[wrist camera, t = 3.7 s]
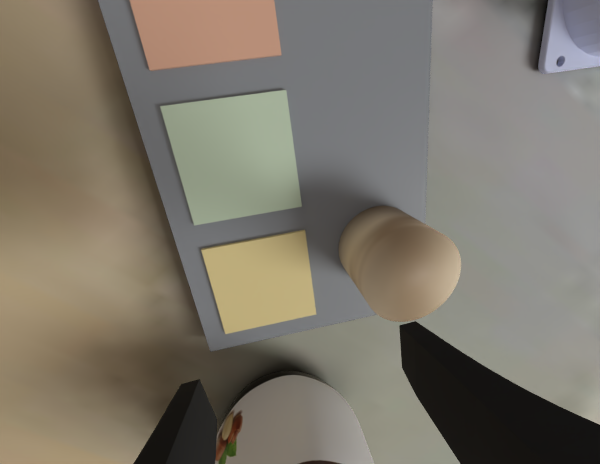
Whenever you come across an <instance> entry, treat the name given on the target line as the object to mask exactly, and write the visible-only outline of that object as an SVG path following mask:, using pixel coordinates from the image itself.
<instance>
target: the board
mask: <svg viewBox="0 0 600 464" xmlns="http://www.w3.org/2000/svg"><path fill="white" fill-rule="evenodd" d="M98 2H99V5H100V8H101V12H102V15H103V18H104V21H105V24H106V27H107V30H108V33H109V36H110V40H111V43H112V46H113V49H114V52H115V55H116V58H117V61H118V65H119V68H120V71H121V74H122V77H123V80H124V83H125V86H126V90H127V93H128V96H129V99H130V102H131V105H132V108H133V111H134V115H135V118H136V121H137V124H138V127H139V130H140V133H141V136H142V140H143V143H144V146H145V149H146V152H147V155H148V158H149V161H150V165H151V168H152V171H153V174H154V177H155V180H156V183H157V186H158V190H159V193H160V196H161V199H162V202H163V205H164V208H165V211H166V215H167V218H168V221H169V224H170V227H171V230H172V233H173V236H174V239H175V243H176V246H177V249H178V252H179V255H180V258H181V261H182V264H183V268H184V271H185V274H186V277H187V280H188V283H189V286H190V289H191V293H192V296H193V299H194V302H195V305H196V308H197V311H198V314H199V318H200V321H201V324H202V327H203V330H204V333H205V336H206V339H207V343H208V346H209V349H210V352H211V351H216V350H220V349H225V348H229V347H234V346H238V345H243V344H247V343H252V342H256V341H261V340H265V339H270V338H274V337H279V336H283V335H287V334H292V333H296V332H301V331H305V330H310V329H314V328H319V327H323V326H328V325H332V324H337V323H341V322H346V321H350V320H355V319H359V318H364V317H368V316H373V315H377V314H376V313H375V312H374V311H373V310H372V309H371V308H370V306H369V305H368V303H367V302H366V300H365V299H364V297H363V296H362V294H361V293H360V291H359V290H358V288H357V287H356V285H355V284H354V282H353V281H352V279H351V278H350V276H349V275H348V273H347V272H346V270H345V268H344V267H343V265H342V263H341V261H340V258H339V250H338V247H339V241H340V237H341V235H342V232H343V230H344V229H345V227H346V226H347V224H348V223H349V222H350V221H351V220H352V219H353V218H354V217H355V216H356V215H358V214H359V213H360V212H362V211H364V210H366V209H369V208H372V207H376V206H391V207H395V208H397V209H399V210H401V211H403V212H405V213H407V214H408V215H410V216H412V217H414V218H415V219H417V220H419V221H421V222H422V223H424V224H425V217H426V186H427V156H428V125H429V94H430V63H431V33H432V2H433V0H98Z"/></svg>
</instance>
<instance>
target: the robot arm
mask: <svg viewBox="0 0 600 464" xmlns="http://www.w3.org/2000/svg"><path fill="white" fill-rule="evenodd" d="M557 59H558V63H557V65H556V62H557ZM598 66H600V0H548V5H547V12H546V18H545V25H544V31H543V38H542V44H541V51H540V57H539V64H538V69H539V71H540V72H541V73H542V74H547V73H554V72H562V71H569V70H576V69H583V68H590V67H598ZM400 341H401V357H402V368H403V370H404V372H405V374H406V376H407V378H408V380H409V382H410V384H411V386H412V388H413V390H414V392H415V394H416V396H417V397H418V399H419V400H420V402H421V404H422V405H423V407H424V408H425V410H426V411H427V413H428V414H429V416H430V418H431V419H432V421H433V422H434V424H435V425H436V427H437V428H438V430H439V431H440V433H441V434H442V436H443V437H444V439H445V441H446V442H447V444H448V445H449V447H450V448H451V450H452V451H453V453H454V454H455V456H456V457H457V459H458V460H459V462H460V463H461V464H600V425H599V424H597V423H594V422H592V421H590V420H588V419H585V418H583V417H581V416H579V415H576V414H574V413H572V412H570V411H568V410H566V409H563V408H561V407H559V406H557V405H555V404H553V403H551V402H549V401H547V400H545V399H543V398H541V397H539V396H537V395H535V394H533V393H531V392H529V391H527V390H525V389H524V388H522V387H520V386H518V385H516V384H514V383H512V382H511V381H509V380H507V379H505V378H504V377H502V376H500V375H498V374H497V373H495V372H493V371H491V370H490V369H488V368H486V367H485V366H483V365H481V364H480V363H478V362H477V361H475V360H473V359H472V358H470V357H469V356H467V355H465V354H464V353H462V352H461V351H459V350H458V349H456V348H455V347H453V346H452V345H450V344H449V343H447V342H446V341H444V340H443V339H441V338H440V337H438V336H437V335H435V334H434V333H432V332H431V331H429V330H428V329H426V328H425V327H423V326H422V325H420V324H419V323H417V322H416V321H415V322H411V323H407V324H404V325H400ZM216 443H217V419H216V416H215V414H214V412H213V409H212V407H211V405H210V403H209V400H208V398H207V396H206V393H205V391H204V389H203V386H202V384H201V382H200V379H199V380H195V381H192V382H188V383H184V384H181V386H180V387H179V389H178V390H177V392H176V394H175V396H174V397H173V399H172V401H171V402H170V404H169V406H168V408H167V409H166V411H165V413H164V414H163V416H162V418H161V420H160V421H159V423H158V425H157V426H156V428H155V430H154V431H153V433H152V435H151V436H150V438H149V440H148V441H147V443H146V444H145V446H144V448H143V449H142V451H141V453H140V454H139V456H138V458H137V459H136V461H135V462H134V464H215V460H216Z"/></svg>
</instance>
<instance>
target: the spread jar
mask: <svg viewBox="0 0 600 464" xmlns="http://www.w3.org/2000/svg"><path fill="white" fill-rule="evenodd" d="M215 464H374V462H373V459H372V456H371V453H370V451H369V448H368V445H367V442H366V440H365V437H364V434H363V432H362V429H361V427H360V424H359V422H358V419H357V418H356V416H355V414H354V412H353V410H352V408H351V407H350V405H349V404H348V402H347V401H346V400H345V399H344V397H343V396H342V395H341V394H340V393H338V392H337V391H336V390H335V389H334V388H333V387H331V386H330V385H329V384H327V383H326V382H324V381H322V380H320V379H319V378H317V377H314V376H312V375H309V374H306V373H302V372H297V371H280V372H275V373H271V374H268V375H265V376H263V377H261V378H259V379H257V380H255V381H254V382H252V383H251V384H249V385H248V386H247V387H246V388H245V389H244V390H243V391H242V392H241V393H240V394H239V395H238V396H237V398H236V399H235V400H234V402H233V403H232V405H231V407H230V409H229V410H228V412H227V414H226V416H225V418H224V420H223V422H222V424H221V427H220V429H219V431H218V434H217V443H216V460H215Z"/></svg>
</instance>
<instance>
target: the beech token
mask: <svg viewBox="0 0 600 464" xmlns="http://www.w3.org/2000/svg"><path fill="white" fill-rule="evenodd" d="M338 250H339V258H340V261H341V263H342V265H343V267H344V268H345V270H346V272H347V273H348V275H349V276H350V278H351V279H352V281H353V282H354V284H355V285H356V287H357V288H358V290H359V291H360V293H361V294H362V296H363V297H364V299H365V300H366V302H367V303H368V305H369V306H370V308H371V309H372V310H373V311H374V312H375V313H376V314H377V315H379V316H380V317H382V318H384V319H387V320H391V321H398V322H404V321H412V320H415V319H419V318H421V317H424V316H426V315H428V314H430V313H431V312H433V311H434V310H436V309H437V308H438V307H440V306H441V305H442V304H443V303H444V302H445V301H446V300H447V299H448V297H449V296H450V295H451V293H452V292H453V290H454V288H455V287H456V284H457V282H458V279H459V276H460V271H461V259H460V255H459V251H458V249H457V247H456V246H455V244H454V243H453V242H452V241H451V240H450V239H449V238H448V237H447V236H445V235H443V234H442V233H440V232H438V231H436V230H435V229H433V228H431V227H429V226H428V225H426V224H424V223H422V222H421V221H419V220H417V219H415V218H414V217H412V216H410V215H408V214H407V213H405V212H403V211H401V210H399V209H397V208H395V207H391V206H376V207H372V208H369V209H366V210H364V211H362V212H360V213H359V214H358V215H356V216H355V217H354V218H353V219H352V220H351V221H350V222H349V223H348V224H347V226H346V227H345V229H344V230H343V232H342V235H341V237H340V241H339V247H338Z"/></svg>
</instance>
